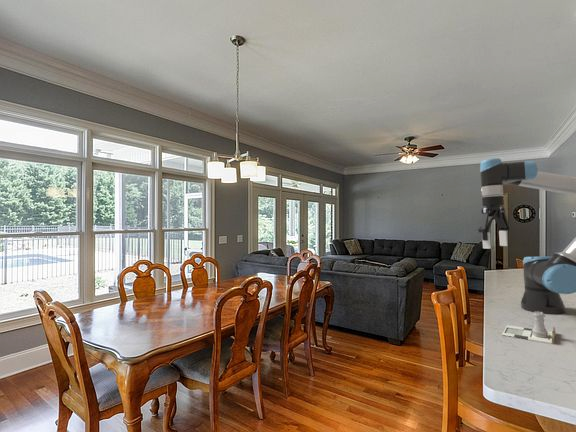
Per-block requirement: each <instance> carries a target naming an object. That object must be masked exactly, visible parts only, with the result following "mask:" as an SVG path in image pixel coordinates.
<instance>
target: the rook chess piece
mask: <svg viewBox="0 0 576 432" xmlns="http://www.w3.org/2000/svg"><path fill="white" fill-rule="evenodd" d="M532 316H534V319H533V320H534V327H533V328H531V329H532V331H533V332H532V333H531V335H532V334H533V335H534V336H536V337H540V338H547V337H548V332H547V331H548V330H547V328H546V326H545V319H544V318H545V317H546V314H545V313H542V312H540V313H539V311H537V312H536V311H535V312H533V314H532Z"/></svg>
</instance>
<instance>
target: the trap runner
mask: <svg viewBox="0 0 576 432" xmlns="http://www.w3.org/2000/svg"><path fill="white" fill-rule="evenodd" d="M510 328H511V330H517V331H522V334H514V333H510V332H508V333H507V332H506V331H507V329H510ZM532 329H533V328H528V327H521V326H515V325H510V324H507V325H506V326H505V328H504V330H503V332H502V334H501V336H502V335H505V336H504V337H508V336H511V337H510V338H514V337H516V338H515V339H520V338H521V339H522V340H527V341H532V342H533V341H534V342H538V343H539V342H540V343H546V344H552V345H555V340H556V327H552V331H548V330H547V332H548V337H547V338H540V337H536V336H534V335H533V334H532V333H533V331H532Z"/></svg>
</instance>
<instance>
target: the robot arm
mask: <svg viewBox="0 0 576 432" xmlns="http://www.w3.org/2000/svg"><path fill="white" fill-rule="evenodd" d="M538 169H539V167H538V164H537V163H536V162H535V161H534V160H527V161H526V160H524V161H513V162H502V159H501V158H487V159H484V160H481V162H480V166H479V172H480V186H481V189H480V192H481V196H482V199H481V202H482V203H481V204H482V206H483V207H484V208H483V207H482V208H481V214H480V218H479V219H480V220H479V225H478V233H481V241H482V249H486V250H488V249H489V250H490V249H492V246H491V232H490V228H491V226H492V223H493V221H495V223H496V224H497V227H498V228H499V231H498V238H499V246H500V247H508V231H510V225H509V222H508V219H507V214H506V210H505V207H501V206H503V205H504V203H505V202H504V201H505V199H504V196H503V195H504V185H511V186H517V187H524V188H529V189H536V190H541V191H547V192H554V193H558V194H564V195H571V196H576V176H571V175H565V174H564V175H563V174H558V173H551V172H546V171H545V172H544V171H538ZM522 266H523V269H522V270H523V282H524V292H523V295H522V296H521V301H520V308H521V309H524V310H526V311H529V312H533V313H534V312H535V311H536V312H537V311H539V313H540V312H542V313H543V314H551V315H553V314H557V315H558V314H559V315H560V314H564V313H565V312H566V306H565V303H564V300H563V299H562V297H561V295H571V294H574V293H576V236H575V237H574V238H573V239H572V241H571V242H570V243H569V244H568V245H567V246H566V247H565V248H564V249H563V250H562V251H561V252H554V253H553V254H552V256H548V255H547V256H524V258H523V260H522Z"/></svg>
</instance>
